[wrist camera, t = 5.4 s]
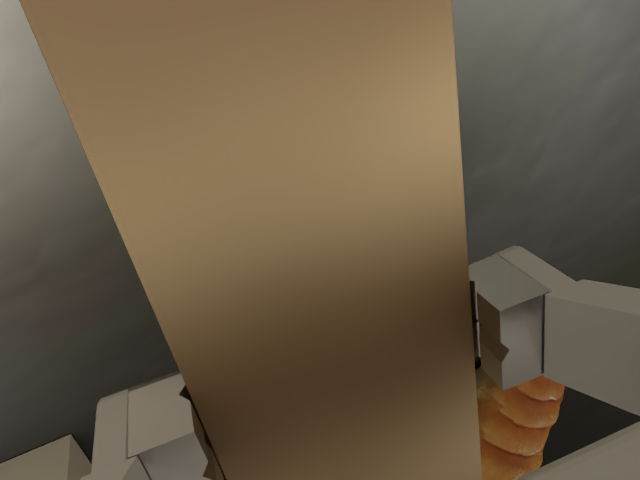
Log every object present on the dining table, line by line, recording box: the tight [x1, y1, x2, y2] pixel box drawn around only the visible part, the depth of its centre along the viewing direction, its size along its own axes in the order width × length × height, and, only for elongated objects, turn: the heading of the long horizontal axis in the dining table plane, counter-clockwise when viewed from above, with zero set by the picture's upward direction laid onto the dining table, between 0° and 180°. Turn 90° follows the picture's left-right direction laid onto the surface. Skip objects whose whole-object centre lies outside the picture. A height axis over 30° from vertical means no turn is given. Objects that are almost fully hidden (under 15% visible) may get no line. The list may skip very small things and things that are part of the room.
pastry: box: [475, 366, 565, 480], centre depth 25 cm, size 9×7×4 cm
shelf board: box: [19, 0, 482, 480], centre depth 11 cm, size 14×5×4 cm, turn 11°
